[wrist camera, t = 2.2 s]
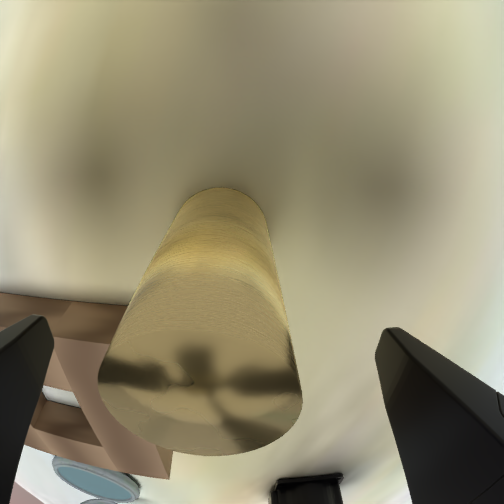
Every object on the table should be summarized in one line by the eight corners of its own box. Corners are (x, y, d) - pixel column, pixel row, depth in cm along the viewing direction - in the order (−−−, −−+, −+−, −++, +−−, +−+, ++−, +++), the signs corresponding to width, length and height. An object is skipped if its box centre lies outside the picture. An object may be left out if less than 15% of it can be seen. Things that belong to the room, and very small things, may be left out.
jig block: (140, 306, 15) (124, 346, 12) (173, 448, 21) (169, 479, 18) (-38, 286, 14) (-62, 310, 12) (29, 418, 20) (18, 442, 18)
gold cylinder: (270, 189, 13) (320, 331, 5) (264, 275, 15) (288, 455, 6) (172, 186, 13) (73, 320, 5) (176, 273, 14) (123, 446, 6)
